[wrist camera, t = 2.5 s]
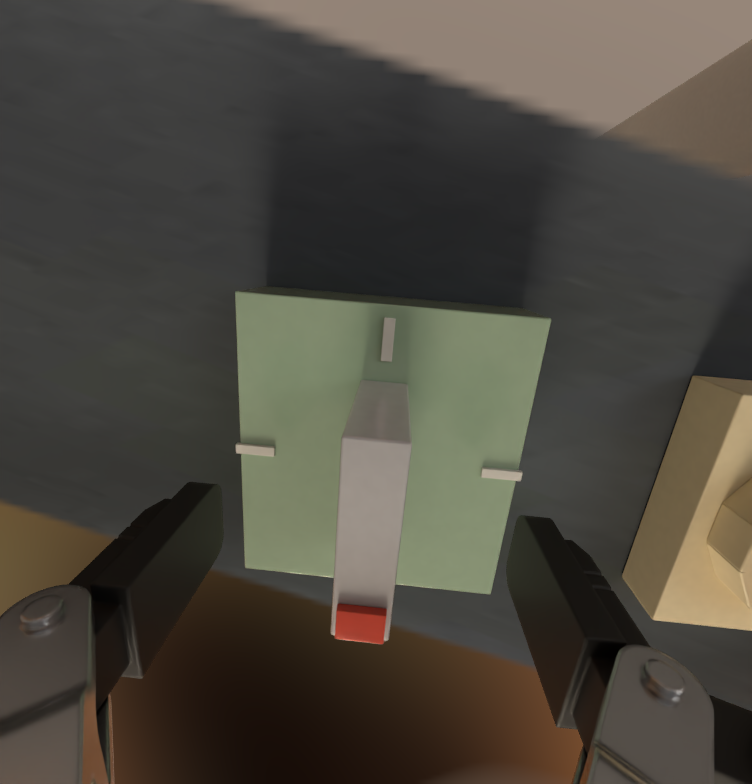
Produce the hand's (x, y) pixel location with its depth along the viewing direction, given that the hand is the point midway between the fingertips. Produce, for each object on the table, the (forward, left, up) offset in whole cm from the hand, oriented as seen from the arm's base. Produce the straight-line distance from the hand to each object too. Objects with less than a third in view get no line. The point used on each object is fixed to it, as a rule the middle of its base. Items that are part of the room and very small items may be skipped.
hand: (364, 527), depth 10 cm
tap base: (0, 0, -7) cm, 7 cm away
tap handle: (0, 0, -4) cm, 4 cm away
